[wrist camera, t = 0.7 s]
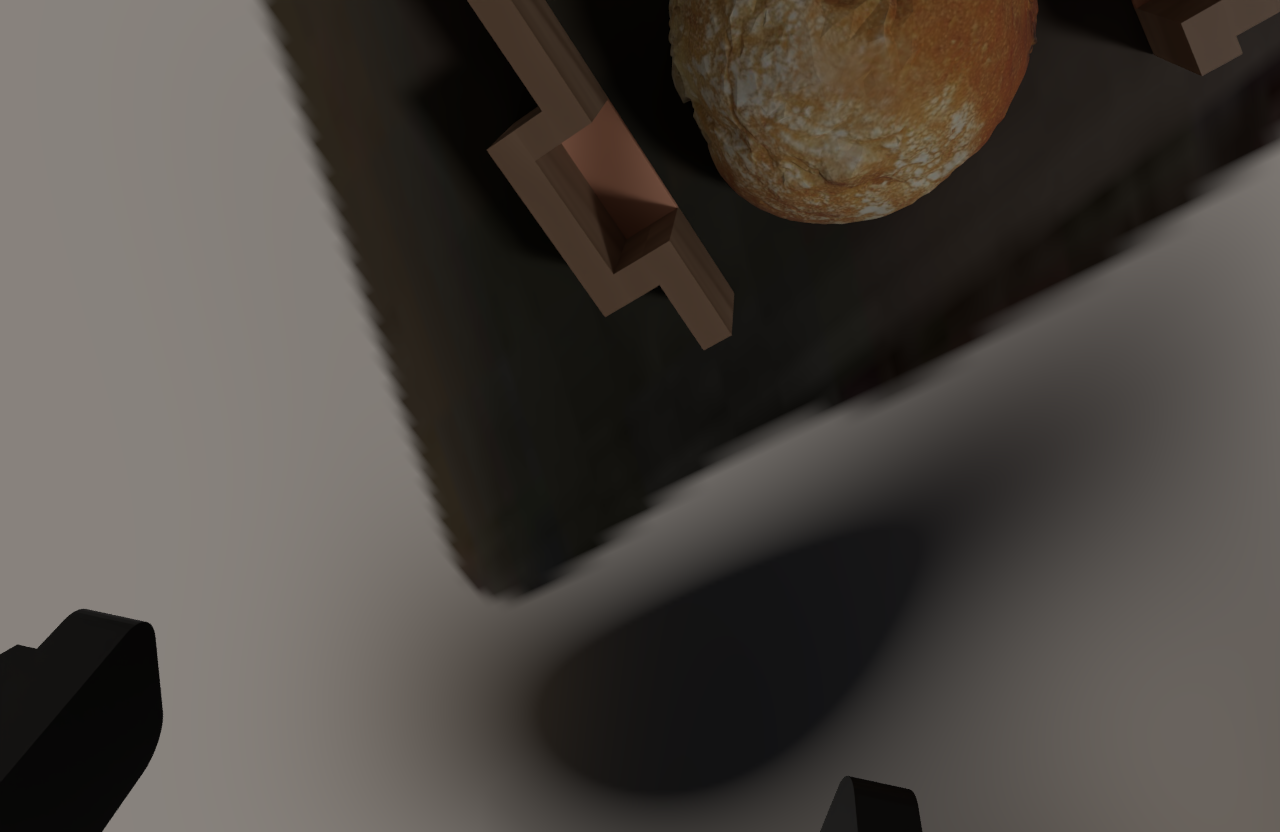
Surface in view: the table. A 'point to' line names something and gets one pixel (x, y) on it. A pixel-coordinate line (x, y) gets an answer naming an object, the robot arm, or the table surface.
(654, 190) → the box
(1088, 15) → the table surface
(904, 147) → the bread roll
